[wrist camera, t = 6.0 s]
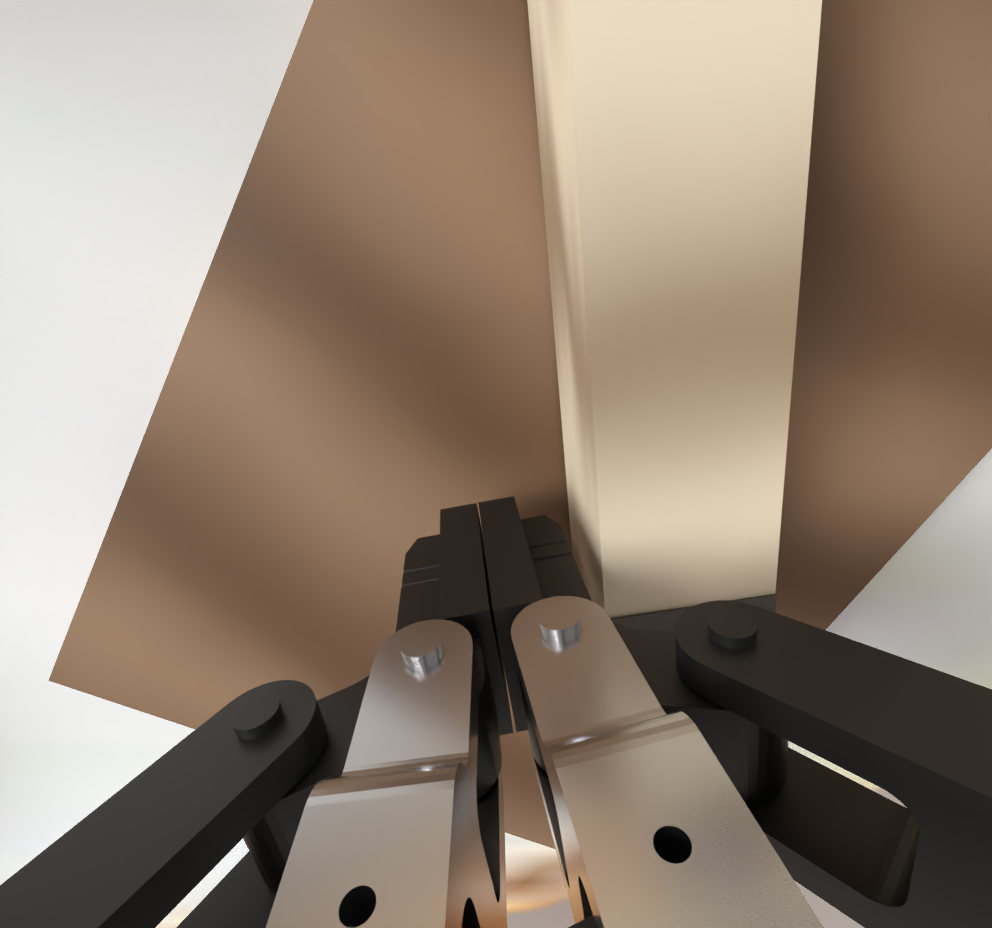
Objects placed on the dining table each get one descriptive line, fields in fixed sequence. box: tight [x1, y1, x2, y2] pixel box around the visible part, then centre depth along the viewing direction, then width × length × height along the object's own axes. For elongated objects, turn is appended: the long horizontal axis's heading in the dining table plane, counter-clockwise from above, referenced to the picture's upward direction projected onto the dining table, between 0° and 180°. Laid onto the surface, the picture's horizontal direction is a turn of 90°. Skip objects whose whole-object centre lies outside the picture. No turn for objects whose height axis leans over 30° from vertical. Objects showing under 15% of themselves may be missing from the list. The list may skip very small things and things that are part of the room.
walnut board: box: [49, 0, 992, 849], centre depth 12 cm, size 22×16×4 cm
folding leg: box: [527, 0, 822, 632], centre depth 9 cm, size 14×3×4 cm, turn 7°
